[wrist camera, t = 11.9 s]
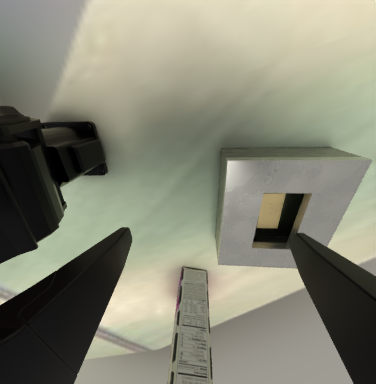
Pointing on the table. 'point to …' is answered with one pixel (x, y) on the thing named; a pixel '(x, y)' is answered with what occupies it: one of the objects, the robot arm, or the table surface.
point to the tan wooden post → (270, 210)
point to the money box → (281, 183)
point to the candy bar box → (191, 331)
